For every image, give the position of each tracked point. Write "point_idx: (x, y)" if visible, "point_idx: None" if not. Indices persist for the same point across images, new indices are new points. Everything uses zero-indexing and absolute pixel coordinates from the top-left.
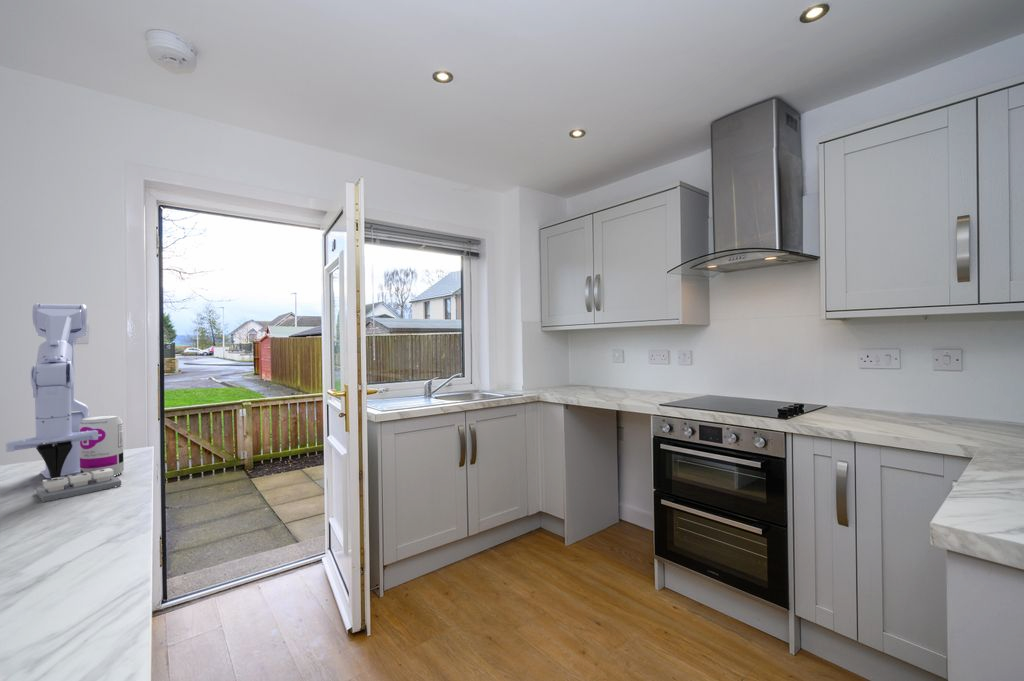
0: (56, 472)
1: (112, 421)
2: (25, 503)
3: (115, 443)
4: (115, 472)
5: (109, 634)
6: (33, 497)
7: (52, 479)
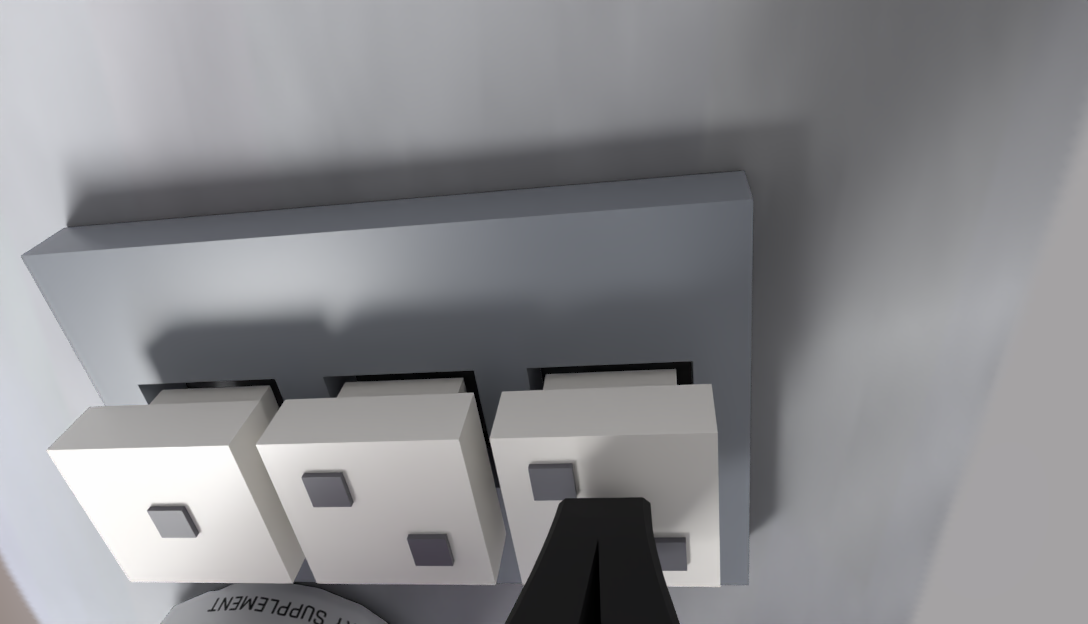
0: (594, 549)
1: None
2: (883, 279)
3: None
4: (184, 612)
5: None
6: (780, 447)
7: None
